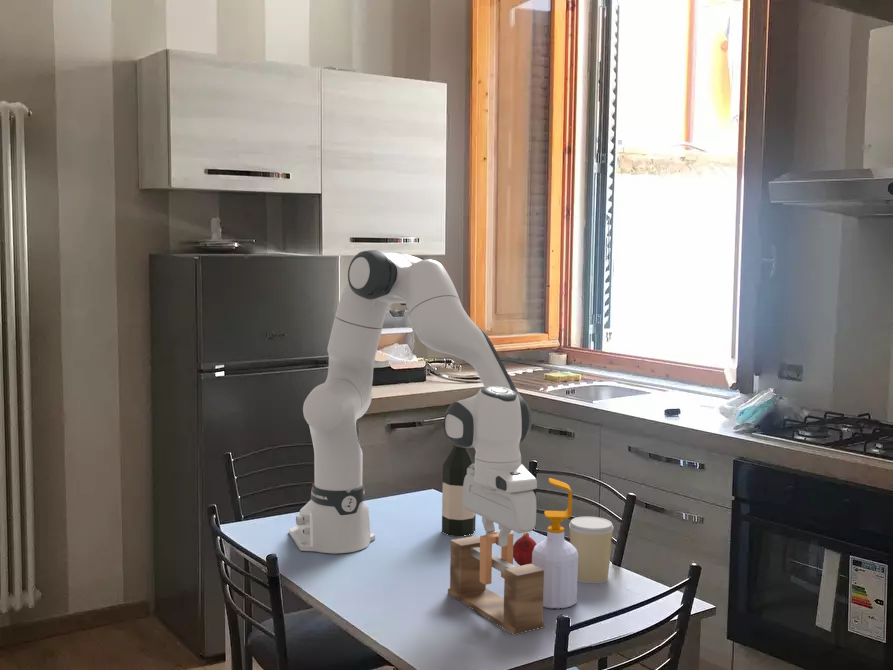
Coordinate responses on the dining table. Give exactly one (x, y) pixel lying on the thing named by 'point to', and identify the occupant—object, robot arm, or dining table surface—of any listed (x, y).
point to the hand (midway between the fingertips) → (496, 542)
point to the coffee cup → (592, 547)
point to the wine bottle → (456, 494)
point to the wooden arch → (486, 555)
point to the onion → (523, 550)
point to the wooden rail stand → (510, 612)
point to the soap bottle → (557, 559)
